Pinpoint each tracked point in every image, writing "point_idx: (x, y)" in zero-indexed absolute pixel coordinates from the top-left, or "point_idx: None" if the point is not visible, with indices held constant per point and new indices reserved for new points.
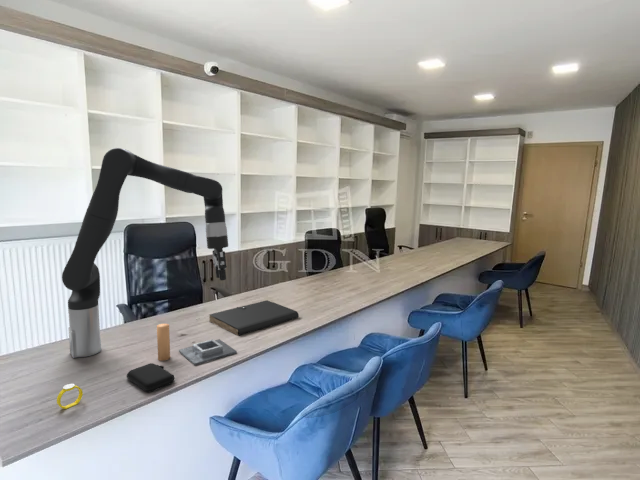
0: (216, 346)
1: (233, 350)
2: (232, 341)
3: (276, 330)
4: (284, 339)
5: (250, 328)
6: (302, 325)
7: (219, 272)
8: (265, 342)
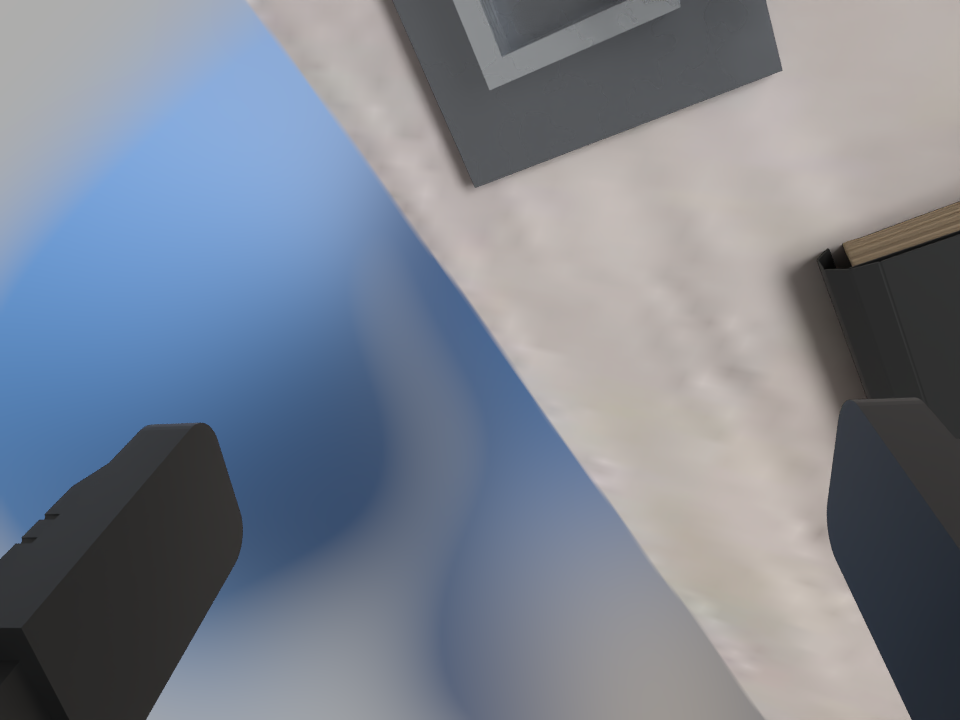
0: (553, 32)
1: (492, 165)
2: (722, 182)
3: (802, 517)
4: (616, 508)
5: (860, 370)
6: (811, 664)
7: (9, 574)
8: (608, 398)
